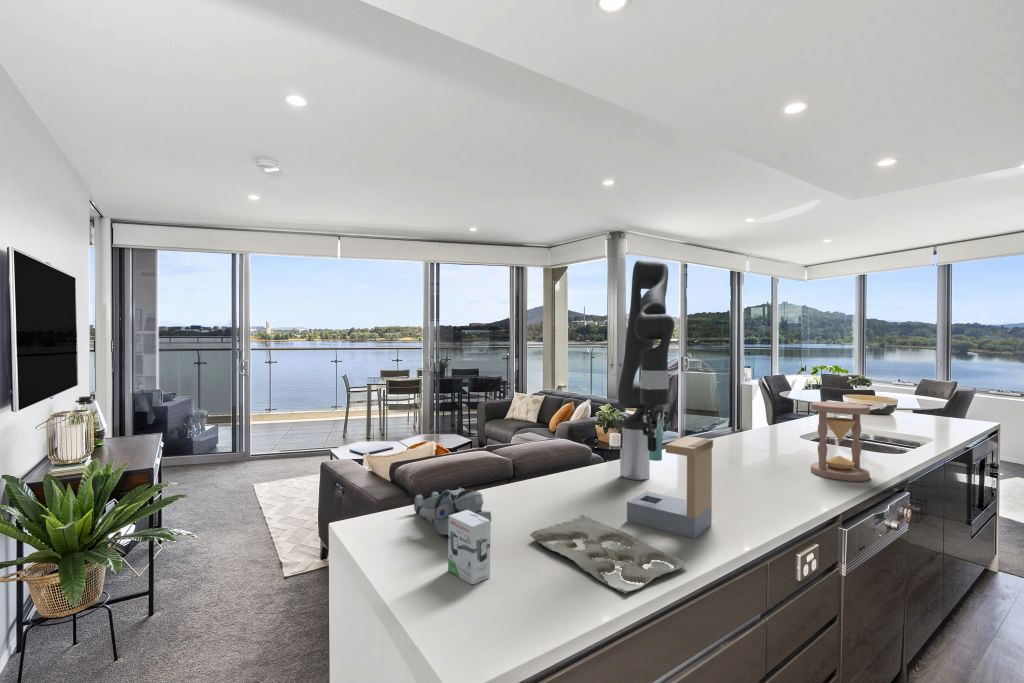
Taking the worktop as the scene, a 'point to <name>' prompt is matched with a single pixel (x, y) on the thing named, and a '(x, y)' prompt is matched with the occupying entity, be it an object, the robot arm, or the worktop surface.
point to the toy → (449, 506)
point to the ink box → (469, 546)
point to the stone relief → (604, 550)
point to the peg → (657, 445)
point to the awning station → (675, 511)
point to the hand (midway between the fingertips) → (655, 449)
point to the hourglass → (840, 426)
